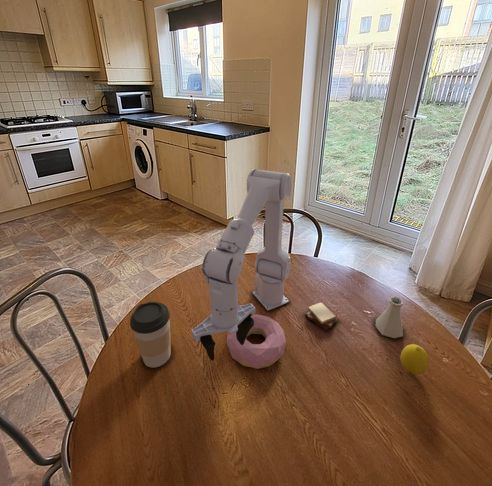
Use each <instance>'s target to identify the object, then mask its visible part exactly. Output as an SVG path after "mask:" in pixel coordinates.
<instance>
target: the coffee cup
mask: <svg viewBox="0 0 492 486" xmlns="http://www.w3.org/2000/svg"><path fill="white" fill-rule="evenodd" d="M170 317H171V313H170V311H169V308H168V307H167V306H166V305H165V304H164V303H161V302H158V301H149V302H145V303H141V304H139V305H137V307H135V310H134V311H133V313H132V314H131V316H130V319H129V325H130V328H131V330H132V333H133V337H134V340H135V342H136V345H137V348H138V351H139V353H140V354H141V355H140V356H141V358H142V361H143V363H144V365H145V367H148V368H152V369H153V368H158V367H161V366H163V365H165V364H166V363H167V362H168V360H169V359H170V357H171V354H172V351H171V350H172V349H171V348H172V347H171V342H172V337H171V320H170Z"/></svg>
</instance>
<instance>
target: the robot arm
mask: <svg viewBox="0 0 492 486" xmlns="http://www.w3.org/2000/svg"><path fill="white" fill-rule="evenodd" d="M292 183H293V179H292V177H291V174H290V173H288V172H280V171H271V170H266V169H265V170H264V169H258V168H252V169H251V170H250V172H249V173H248V174H247V178H246V193H247V194H246V196H245V199H244V201H243V204H242V206H241V208H240V211H239V214H238V215H237V218H234V219H231V220H230V221H229V222H228V224H227V226H226V227H225V230H224V231H223V234H222V235H221V237H220V239H219V241H218V242H217V244H216V246H215V248H212V249H210V250H208V251H207V252H206V253H205V255H204V257H203V260H202V267H201V269H200V270H201V273H202V275H203V276H204V277H205V283H206V284H208V289H209V305H210V315H209V316H208V317H207V318H205V319H204V320H202V322H200V323H199V324H198V325H197V326H195V327H194V328H191V329H190V331H191V337H192V339H193V341H194V343H198V342H200V344H201V345H202V346H203V348H204V349H205V351H206V355H207V357H208V358H209V361H210V362H213V361H214V360H215V346H216V341H215V340H214V339H213V335H216V334H221V333H227V334H228V333H229V334H233V333H235V332H236V337H237V340H238V341H239V343H240V344H241V345H243V344H244V342H245V339H246V340H247V337H246V336H247V334H248V332H249V331H250V329H251V328H252V327H253V326H254V320H253V319H252V318H251V316H253V315H255V314H256V307H255V306H254V304H252V303H251V302H249V303H247V304H242V305H239V296H238V295H239V287H238V285H239V283H238V281H239V278H240V277H241V274H242V271H243V268H244V264H245V263H244V262H245V259H246V256H245V253H246V252H247V249H248V247H249V245H250V243H251V241H252V239H253V237H254V235H255V230H254V228H253V225H254V224H255V222H256V220H257V218H258V217H259V215H260V214H261V213H262V211H263V209H264V208H265V212H264V214H265V215H264V216H265V217H264V247H261V248H260V249H259V250H258V252H257V253H256V258H255V261H254V271H255V276H254V290H253V291H252V295H253V296H254V297H255V298H256V299H257V300H258V301H259V303H260V304H261V305H262V306H263V307H264V308H265V309H266V311H271V310H274V309H276V308H279V307H281V306H283V305H286V304H288V303H289V302H290V301H289V299H288V298H287V297H286V296H285V295H284V289H285V288H284V287H285V281H286V280H287V279H288V278H289V276H290V274H291V269H292V263H291V255H290V253H288V252H287V251H286V250H285V249H284V248H283V247H282V243H283V241H282V240H283V224H284V222H283V221H284V205H285V200H290V199H291V196H292Z"/></svg>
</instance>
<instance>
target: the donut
mask: <svg viewBox="0 0 492 486" xmlns="http://www.w3.org/2000/svg"><path fill="white" fill-rule="evenodd" d="M251 318H252V319H253V320H254V326H253V327H252V328H251V329H250V331H249V332H248V334H247V336H246V339H245V342H244V344H243V345H241V344H240V343H239V341H238V340H237V337H236V332H235V333H233V334H229V333H228V332H227V338H226V346H227V349H228V351H229V353H230V356H231V358H232V359H233V360H235V361H236V362H238V364H240V365H242V366H243V367H247V368H251V369H252V368H253V369H256V370H258V369H264V368H268V367H271V366H272V365H273V364H274V363H276V362H277V361H278V360H279V359H281V358H282V357H283V356H284V354H285V351H286V345H287V340H286V336H285V331H284V329H283V328H282V326H281V325H280V324H279V322H277V321H276V320H275V319H272V318H271V317H270V316H265V315H261V314H257V313H255V315H253V316H251ZM250 335H261V336H262V337H264V338H265V340H264V341H263V342H262V343H252V342H250V341H249V340H248V339H247V338H248V337H249V336H250Z"/></svg>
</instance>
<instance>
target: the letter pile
mask: <svg viewBox="0 0 492 486" xmlns="http://www.w3.org/2000/svg"><path fill="white" fill-rule="evenodd" d="M307 310H308V312H306V313H305V317H306V318H307V319H309V320H311V321H312V322H313V323H314V324H316V325H317V326H319V327H320V328H322V330H324V331H328V330H329V329H332V326H333V325H335V324H336V323H337V322H338V319H337V314H336V313H333V312H332V311H331V310H330V309H329V308H328V307H327V306H326V305H325V304H324V303H323V302H322V301H321V302H318V303H315V304H312V305H309V306H308V307H307Z"/></svg>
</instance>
